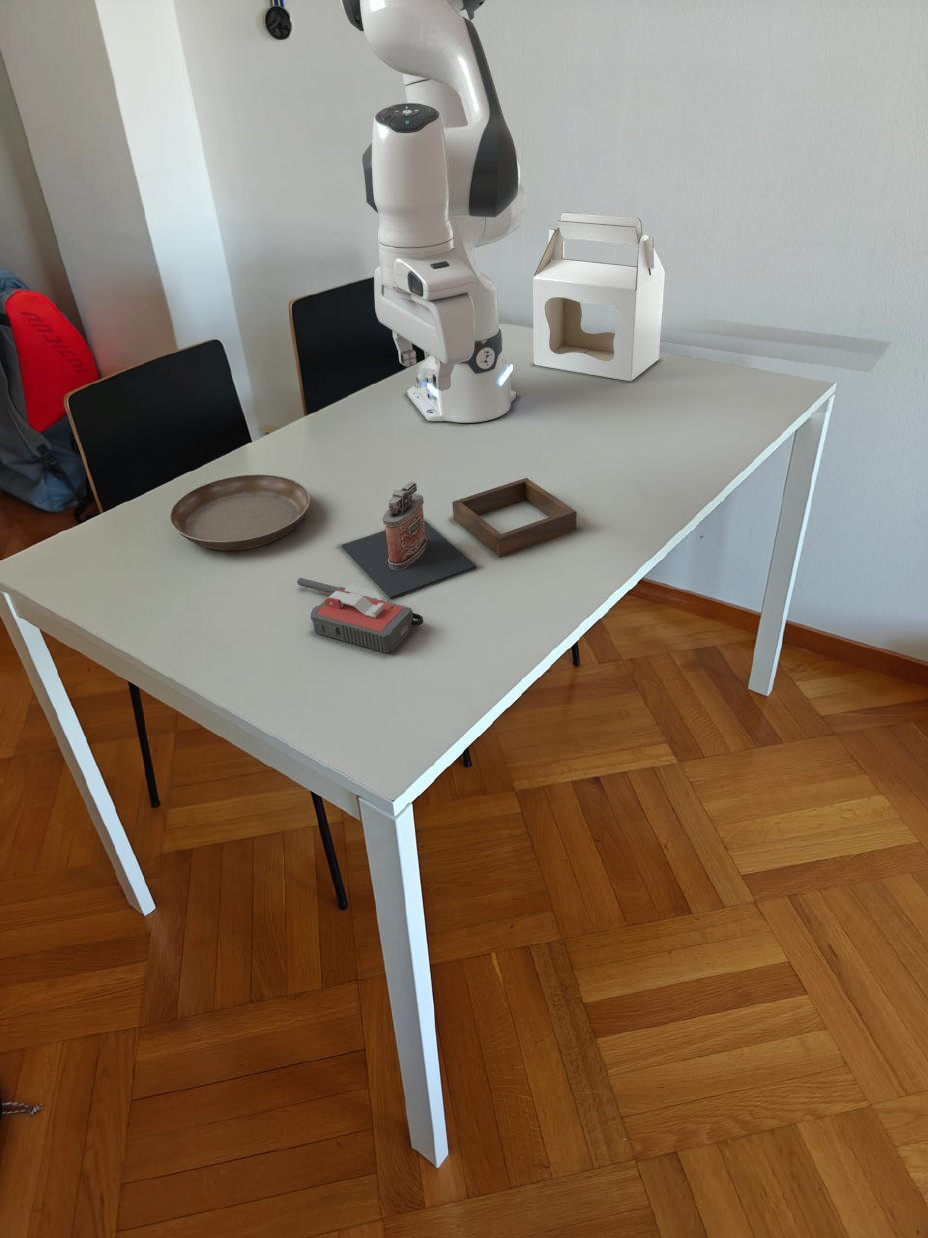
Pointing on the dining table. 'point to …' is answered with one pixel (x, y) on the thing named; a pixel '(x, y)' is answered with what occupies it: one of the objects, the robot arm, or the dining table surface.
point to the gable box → (598, 300)
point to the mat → (424, 571)
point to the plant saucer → (240, 511)
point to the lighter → (405, 527)
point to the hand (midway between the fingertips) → (424, 376)
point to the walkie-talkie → (361, 617)
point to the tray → (520, 538)
